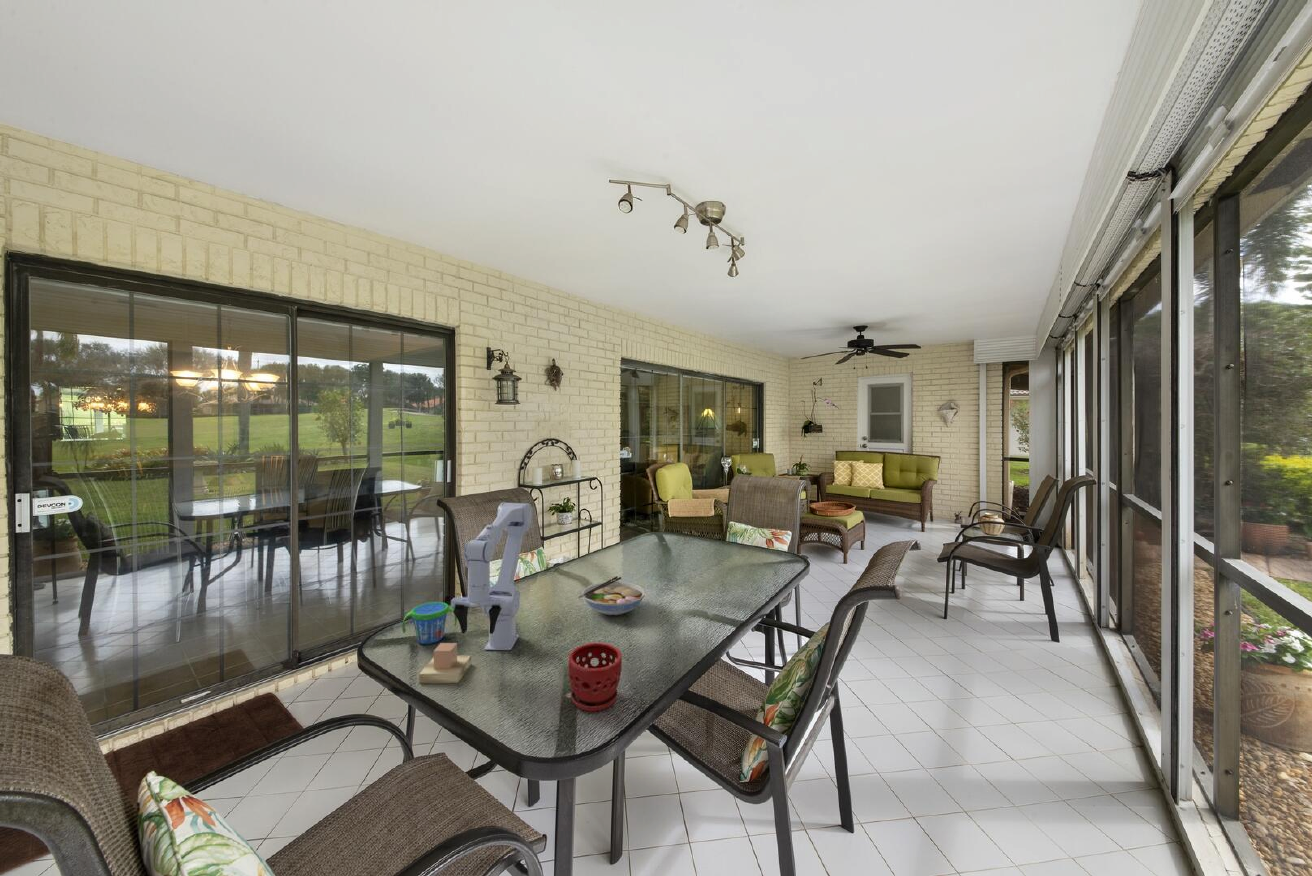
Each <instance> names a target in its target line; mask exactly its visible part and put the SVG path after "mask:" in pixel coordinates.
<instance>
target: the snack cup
mask: <svg viewBox="0 0 1312 876" xmlns="http://www.w3.org/2000/svg"><path fill="white" fill-rule="evenodd" d="M454 609H455V608H454V607H451V605H448V603H446V602H443V601H433V602H432V601H431V602H426V603H422V604H419V605H417V606H414V608H412V609H411V610H410V611H409V612H407V613H406V615H405V616H404V618H403V620H402V625H401V629H402V633H403V634H406V626H405V625H406V624H405V620H406V619H407V618H408V617H411V619H412V622H413V626H414V632H415V636H416V640H417V642H418V643H419V644H422V645H430V644H435V643H438V642H439V641H441V640H442V639H443V638H444V636H445V629H446V622H447V621H446V620H447V613H448V612H453V610H454ZM453 615H454V627H456V625H457V623H458V619H457V617H456V616H455V614H454V612H453Z"/></svg>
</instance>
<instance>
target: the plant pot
mask: <svg viewBox="0 0 1312 876" xmlns="http://www.w3.org/2000/svg"><path fill="white" fill-rule="evenodd" d="M589 654H591V655H590V656H589ZM602 654H605V657H604V656H603V655H602ZM577 659H578V660H577ZM583 659H584V660H583ZM592 659H597V660H598V663H597V664H595V665H592V663H591V661H592ZM622 660H623V658H622V652H621V651H620V650H619V649H618V648H617V647H616V646H613V644H608V643H605V642H591V643H586V644H582V645H580V646H577V647H575V648H574V649H573V650H572V651H571V652H570V653H569V655H568V680H569V684H570V687H571V689H572V690H571V693H570V699H571V702H572V703H573V705H575V706H576V707H577V708H579V709H581V710H583V711H588V712H596V711H597V710H599V711H603V710H605V708H606V709H608V708H609V707H610V706H612V705H613V704H614V703H615V702H616V701H617V698H618V695H619V693H618V689H617V688H618V686H619V684H620V683H619V682H620V679H621V674H622V673H621V672H622V664H623V663H622V662H623V661H622ZM603 662H605V664H604V663H603ZM586 665H587V667H586ZM607 707H608V708H607ZM602 709H603V710H602ZM597 712H598V711H597Z"/></svg>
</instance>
